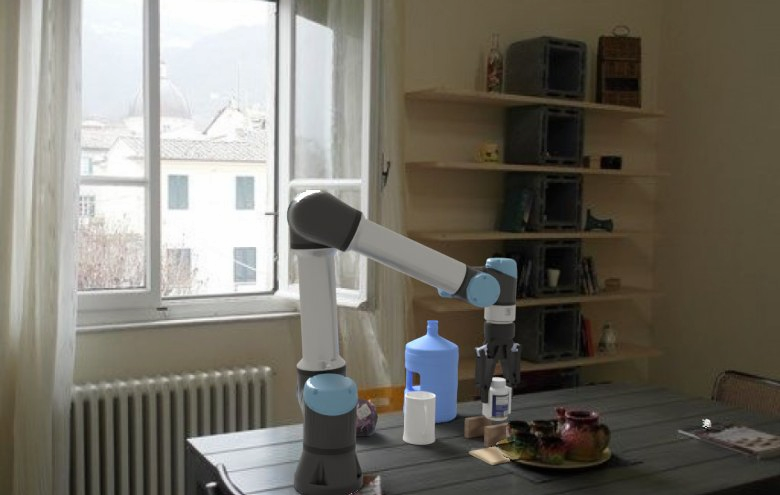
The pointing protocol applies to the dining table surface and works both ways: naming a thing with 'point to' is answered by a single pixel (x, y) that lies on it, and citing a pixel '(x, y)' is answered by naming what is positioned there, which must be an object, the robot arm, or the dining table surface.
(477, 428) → the blocks
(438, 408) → the water jug
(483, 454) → the cork pad
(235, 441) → the dining table surface
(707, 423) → the power adapter
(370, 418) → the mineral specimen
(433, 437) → the mug
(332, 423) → the robot arm
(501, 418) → the pill bottle
